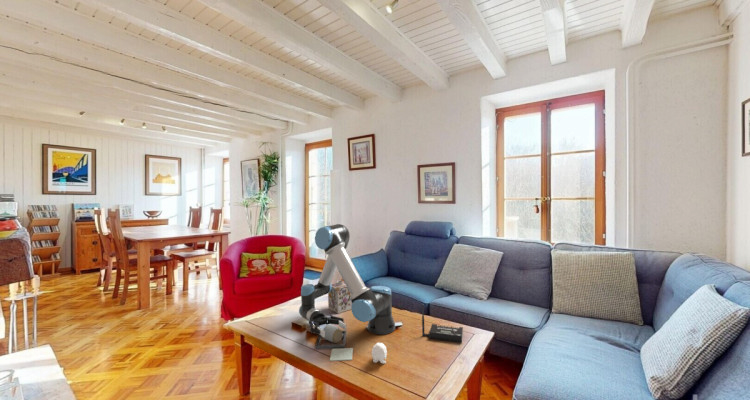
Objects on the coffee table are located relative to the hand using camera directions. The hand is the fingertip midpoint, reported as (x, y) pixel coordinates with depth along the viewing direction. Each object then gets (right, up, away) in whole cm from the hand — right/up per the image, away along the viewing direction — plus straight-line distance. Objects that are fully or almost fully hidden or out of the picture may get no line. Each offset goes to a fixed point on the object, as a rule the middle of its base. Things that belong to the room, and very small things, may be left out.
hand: (335, 330), depth 157 cm
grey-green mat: (+4, -7, -11) cm, 13 cm away
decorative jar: (-2, -5, +46) cm, 47 cm away
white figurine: (+23, -7, -15) cm, 28 cm away
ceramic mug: (-1, -7, +5) cm, 8 cm away
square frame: (-2, -6, +3) cm, 8 cm away
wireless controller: (+55, -6, +6) cm, 56 cm away
